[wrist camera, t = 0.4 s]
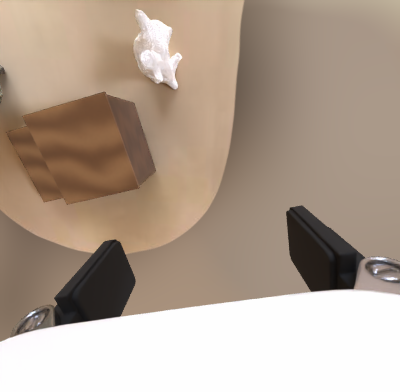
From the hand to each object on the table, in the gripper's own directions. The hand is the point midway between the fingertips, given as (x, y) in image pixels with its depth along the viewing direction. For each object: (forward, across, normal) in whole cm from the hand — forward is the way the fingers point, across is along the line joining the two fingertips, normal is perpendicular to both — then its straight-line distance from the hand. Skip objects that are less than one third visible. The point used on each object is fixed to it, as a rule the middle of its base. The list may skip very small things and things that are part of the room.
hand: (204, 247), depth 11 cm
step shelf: (+30, +22, -6) cm, 37 cm away
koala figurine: (+30, +4, -16) cm, 34 cm away
